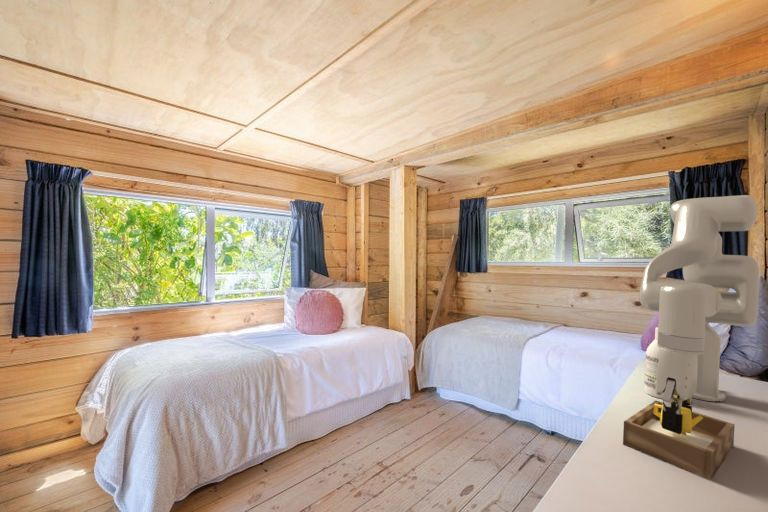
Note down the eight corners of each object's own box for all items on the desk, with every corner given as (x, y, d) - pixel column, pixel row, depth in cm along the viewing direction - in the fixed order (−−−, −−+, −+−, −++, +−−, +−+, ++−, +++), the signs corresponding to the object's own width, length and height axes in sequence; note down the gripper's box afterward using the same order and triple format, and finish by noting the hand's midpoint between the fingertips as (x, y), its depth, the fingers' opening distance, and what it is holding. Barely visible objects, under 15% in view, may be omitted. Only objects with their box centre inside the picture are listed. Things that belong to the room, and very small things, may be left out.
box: (654, 420, 86) (655, 400, 86) (733, 447, 75) (734, 424, 75) (622, 444, 75) (623, 421, 74) (710, 480, 63) (711, 453, 63)
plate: (651, 427, 81) (652, 418, 81) (715, 449, 72) (716, 440, 72) (637, 438, 75) (637, 429, 75) (704, 464, 66) (705, 454, 66)
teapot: (702, 430, 73) (703, 406, 73) (702, 440, 69) (703, 415, 69) (654, 417, 79) (655, 394, 78) (652, 426, 74) (653, 402, 74)
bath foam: (668, 401, 98) (671, 331, 98) (640, 393, 104) (643, 327, 103) (677, 396, 102) (680, 329, 101) (649, 388, 107) (652, 324, 107)
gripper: (670, 334, 81) (667, 409, 82) (644, 344, 71) (640, 430, 72) (714, 341, 75) (710, 422, 76) (691, 353, 65) (687, 447, 66)
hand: (676, 425), depth 74 cm, fingers closed on teapot, 6 cm apart
